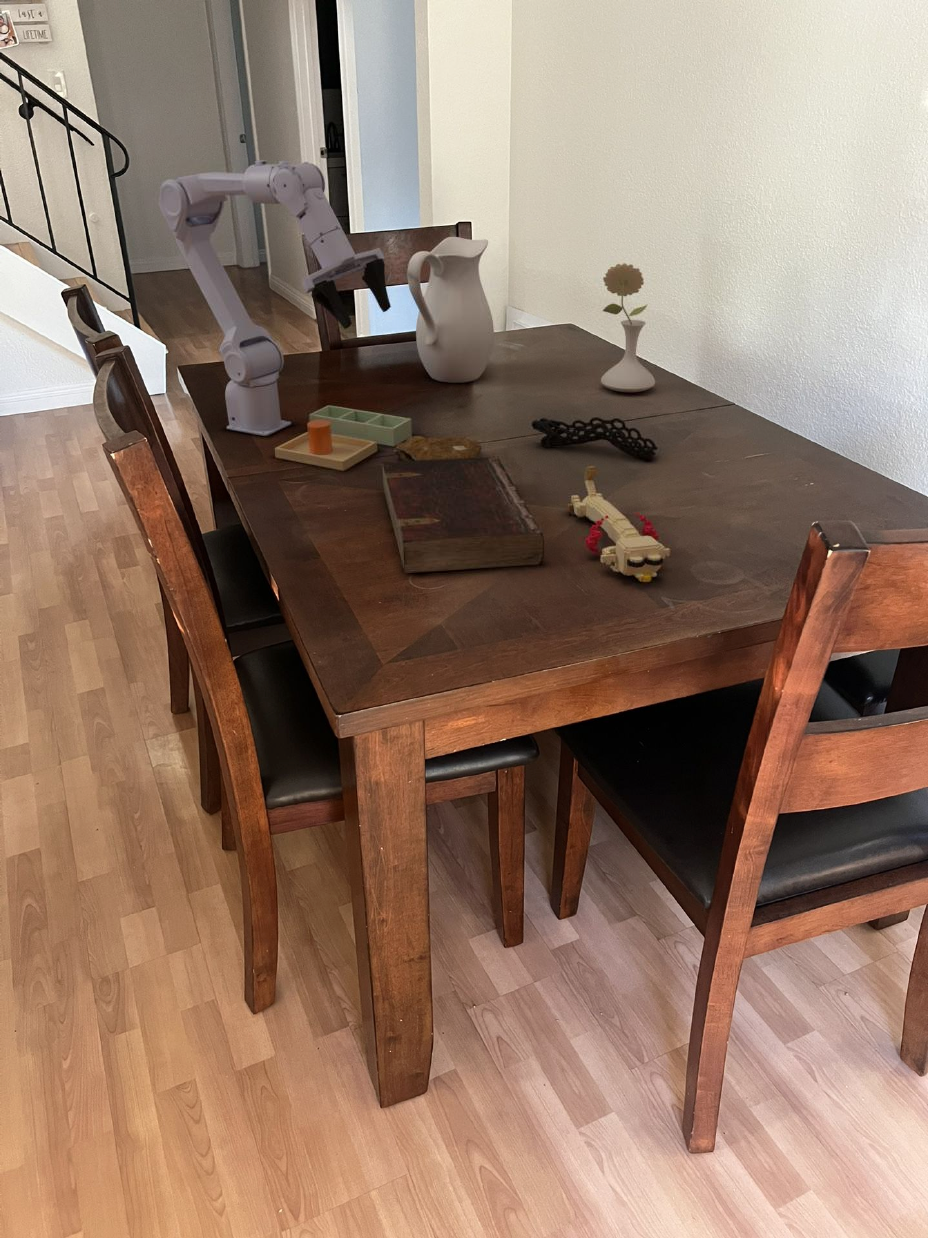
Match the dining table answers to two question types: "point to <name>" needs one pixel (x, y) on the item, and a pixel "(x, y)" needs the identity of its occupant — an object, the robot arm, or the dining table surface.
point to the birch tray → (340, 458)
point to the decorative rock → (437, 448)
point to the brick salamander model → (619, 535)
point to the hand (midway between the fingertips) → (368, 317)
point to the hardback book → (459, 515)
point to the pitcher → (452, 311)
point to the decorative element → (558, 440)
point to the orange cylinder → (320, 437)
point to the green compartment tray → (365, 425)
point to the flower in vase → (627, 333)
